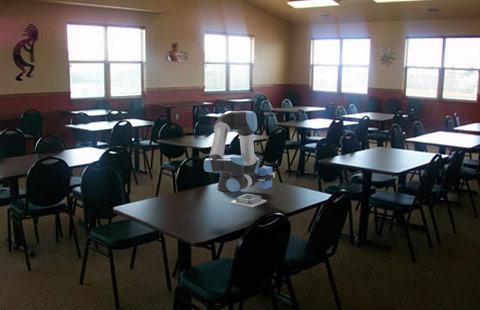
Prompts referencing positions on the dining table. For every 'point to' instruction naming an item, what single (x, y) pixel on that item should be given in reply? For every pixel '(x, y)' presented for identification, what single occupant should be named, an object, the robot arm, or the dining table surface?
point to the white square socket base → (248, 200)
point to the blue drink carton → (262, 172)
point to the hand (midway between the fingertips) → (270, 174)
